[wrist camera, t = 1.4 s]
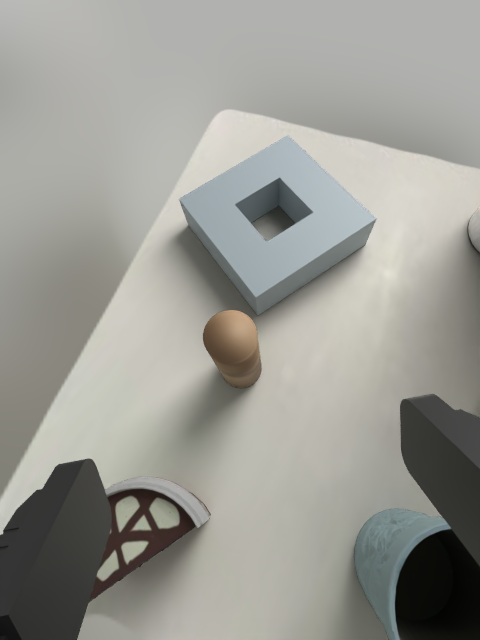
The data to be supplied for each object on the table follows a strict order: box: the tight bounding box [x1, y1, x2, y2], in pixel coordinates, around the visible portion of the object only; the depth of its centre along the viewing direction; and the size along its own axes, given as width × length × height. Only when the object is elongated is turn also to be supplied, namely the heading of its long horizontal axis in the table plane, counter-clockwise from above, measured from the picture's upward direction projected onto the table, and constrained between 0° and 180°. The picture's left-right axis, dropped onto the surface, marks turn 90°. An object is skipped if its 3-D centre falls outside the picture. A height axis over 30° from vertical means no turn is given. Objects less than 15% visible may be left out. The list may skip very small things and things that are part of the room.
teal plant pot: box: [355, 509, 480, 640], centre depth 25 cm, size 10×10×12 cm
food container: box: [88, 477, 211, 603], centre depth 29 cm, size 12×6×10 cm, turn 123°
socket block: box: [179, 135, 376, 315], centre depth 42 cm, size 16×16×5 cm
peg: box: [203, 310, 261, 388], centre depth 33 cm, size 4×4×11 cm
